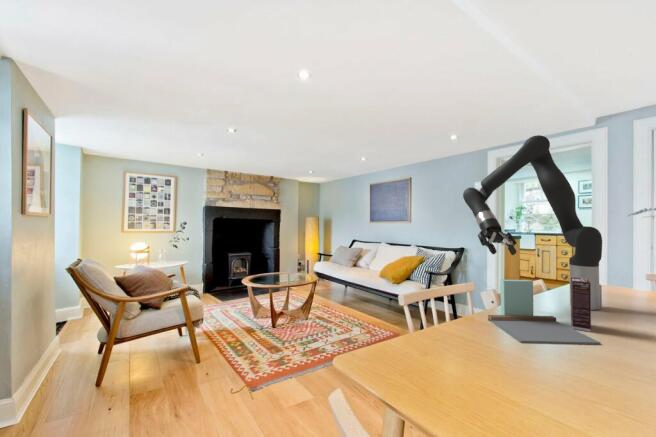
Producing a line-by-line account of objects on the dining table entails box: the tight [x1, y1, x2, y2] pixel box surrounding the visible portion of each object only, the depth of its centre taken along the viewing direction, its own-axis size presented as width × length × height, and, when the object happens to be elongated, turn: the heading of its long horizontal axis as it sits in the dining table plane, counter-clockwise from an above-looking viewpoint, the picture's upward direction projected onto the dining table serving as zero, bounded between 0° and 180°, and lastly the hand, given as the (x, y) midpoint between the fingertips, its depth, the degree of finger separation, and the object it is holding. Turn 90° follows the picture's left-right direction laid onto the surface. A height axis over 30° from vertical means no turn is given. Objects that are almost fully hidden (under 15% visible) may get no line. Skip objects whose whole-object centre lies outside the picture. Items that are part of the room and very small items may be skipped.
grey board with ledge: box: [487, 314, 602, 346], centre depth 94 cm, size 20×22×2 cm
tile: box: [499, 279, 534, 316], centre depth 106 cm, size 2×10×14 cm, turn 86°
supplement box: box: [570, 277, 592, 333], centre depth 98 cm, size 9×5×16 cm, turn 143°
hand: (504, 253), depth 117 cm, fingers open, 8 cm apart
